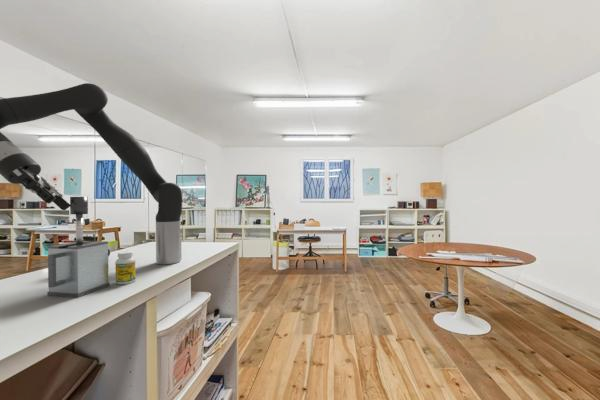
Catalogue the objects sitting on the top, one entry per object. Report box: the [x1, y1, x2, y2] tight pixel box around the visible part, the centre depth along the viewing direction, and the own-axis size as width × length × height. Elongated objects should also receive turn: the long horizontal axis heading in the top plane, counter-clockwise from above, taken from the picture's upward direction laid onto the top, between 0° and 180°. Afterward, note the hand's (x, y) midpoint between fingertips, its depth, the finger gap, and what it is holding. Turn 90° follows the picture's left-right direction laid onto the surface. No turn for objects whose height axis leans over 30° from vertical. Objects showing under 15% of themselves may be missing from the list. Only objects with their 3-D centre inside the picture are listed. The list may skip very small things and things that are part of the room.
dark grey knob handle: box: [69, 196, 89, 245], centre depth 79 cm, size 7×7×18 cm
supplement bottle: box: [115, 250, 137, 285], centre depth 87 cm, size 5×5×10 cm
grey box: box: [46, 240, 111, 298], centre depth 78 cm, size 13×10×14 cm
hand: (59, 204), depth 74 cm, fingers open, 8 cm apart
